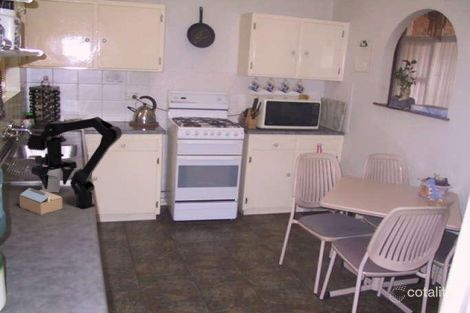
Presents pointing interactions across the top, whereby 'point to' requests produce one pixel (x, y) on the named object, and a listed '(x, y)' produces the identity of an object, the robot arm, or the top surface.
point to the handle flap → (35, 195)
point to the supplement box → (53, 181)
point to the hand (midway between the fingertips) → (55, 186)
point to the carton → (42, 204)
